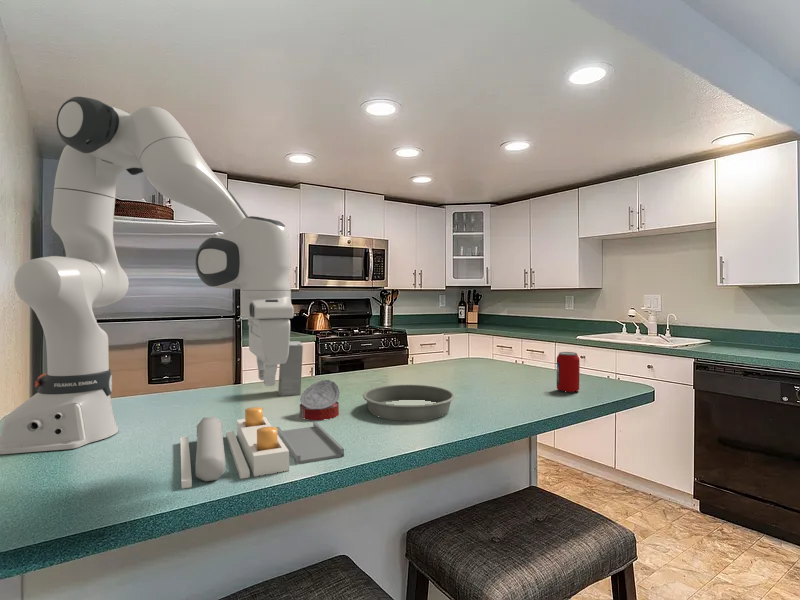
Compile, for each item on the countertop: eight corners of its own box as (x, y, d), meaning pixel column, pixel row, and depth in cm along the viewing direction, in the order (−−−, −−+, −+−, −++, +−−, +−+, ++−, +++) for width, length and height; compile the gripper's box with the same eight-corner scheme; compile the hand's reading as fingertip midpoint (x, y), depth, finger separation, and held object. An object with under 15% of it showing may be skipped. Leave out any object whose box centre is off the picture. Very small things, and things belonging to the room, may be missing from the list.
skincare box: (278, 390, 148) (277, 341, 147) (301, 389, 150) (300, 340, 150) (279, 396, 140) (279, 344, 139) (303, 395, 142) (303, 343, 142)
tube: (232, 458, 78) (226, 419, 101) (199, 452, 76) (201, 413, 99) (221, 490, 78) (218, 443, 101) (188, 484, 76) (192, 438, 99)
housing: (181, 488, 75) (181, 467, 75) (180, 442, 97) (180, 426, 97) (289, 470, 82) (289, 450, 82) (265, 431, 105) (264, 416, 105)
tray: (297, 464, 86) (297, 455, 86) (276, 433, 104) (276, 427, 104) (344, 456, 89) (343, 448, 89) (315, 428, 107) (315, 422, 107)
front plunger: (258, 453, 83) (258, 433, 83) (255, 447, 86) (255, 428, 86) (279, 450, 84) (279, 430, 84) (275, 444, 88) (275, 425, 87)
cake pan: (347, 418, 116) (347, 400, 116) (380, 397, 140) (380, 382, 140) (444, 427, 109) (444, 408, 109) (462, 402, 133) (462, 387, 133)
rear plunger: (246, 428, 97) (246, 412, 97) (244, 424, 100) (244, 408, 100) (264, 426, 99) (264, 410, 99) (261, 422, 102) (261, 406, 102)
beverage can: (564, 387, 151) (564, 351, 151) (583, 391, 146) (583, 353, 146) (552, 390, 147) (552, 352, 147) (572, 394, 142) (572, 355, 141)
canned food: (340, 432, 120) (353, 400, 117) (306, 436, 113) (320, 403, 110) (320, 404, 128) (332, 374, 125) (287, 407, 121) (299, 375, 118)
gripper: (240, 305, 93) (241, 374, 93) (256, 308, 74) (257, 395, 74) (273, 304, 95) (273, 372, 96) (296, 308, 77) (296, 391, 77)
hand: (266, 382), depth 85 cm, fingers open, 4 cm apart
